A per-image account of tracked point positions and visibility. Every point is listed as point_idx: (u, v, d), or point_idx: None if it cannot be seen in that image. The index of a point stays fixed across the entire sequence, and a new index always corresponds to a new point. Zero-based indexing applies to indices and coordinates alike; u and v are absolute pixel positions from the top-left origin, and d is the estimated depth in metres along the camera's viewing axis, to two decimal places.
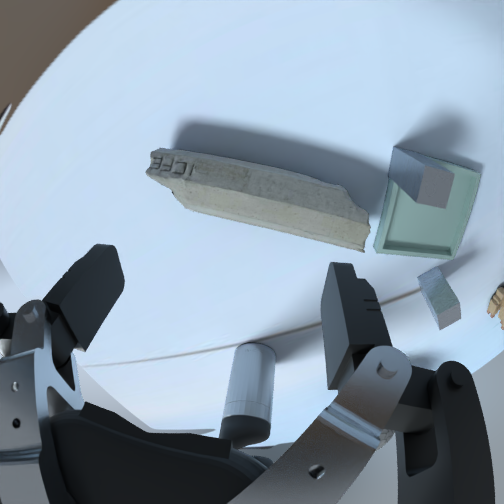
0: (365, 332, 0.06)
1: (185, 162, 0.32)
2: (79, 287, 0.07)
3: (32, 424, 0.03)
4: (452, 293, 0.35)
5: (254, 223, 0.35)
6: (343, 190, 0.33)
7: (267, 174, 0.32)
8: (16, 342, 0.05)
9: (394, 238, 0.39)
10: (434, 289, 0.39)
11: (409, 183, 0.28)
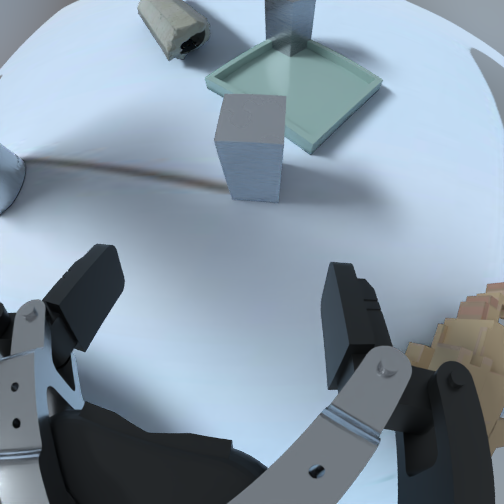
0: (365, 332, 0.06)
1: None
2: (79, 287, 0.07)
3: (32, 424, 0.03)
4: None
5: (147, 14, 0.28)
6: (207, 22, 0.28)
7: (184, 3, 0.29)
8: (16, 342, 0.05)
9: (236, 85, 0.29)
10: None
11: None
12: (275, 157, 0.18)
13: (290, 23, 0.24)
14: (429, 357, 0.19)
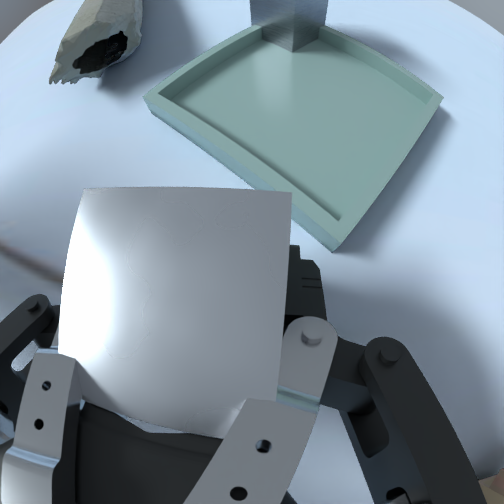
0: (295, 304, 0.07)
1: None
2: None
3: (55, 431, 0.03)
4: None
5: None
6: (135, 18, 0.16)
7: None
8: None
9: (196, 106, 0.17)
10: None
11: None
12: None
13: None
14: None
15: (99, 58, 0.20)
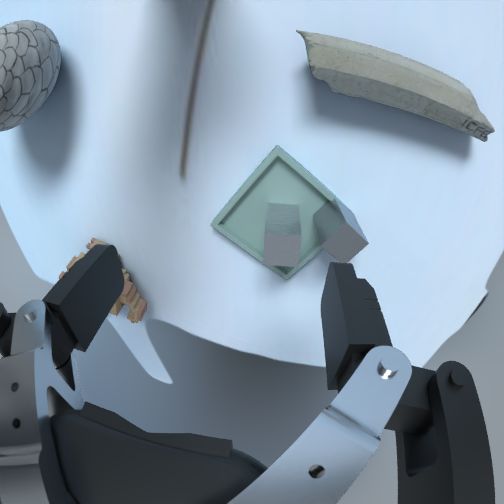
0: (365, 332, 0.06)
1: (466, 128, 0.26)
2: (79, 287, 0.07)
3: (32, 424, 0.03)
4: None
5: (418, 65, 0.23)
6: (338, 92, 0.28)
7: (409, 108, 0.27)
8: (16, 342, 0.05)
9: (274, 170, 0.39)
10: None
11: (348, 219, 0.34)
12: None
13: (319, 231, 0.37)
14: None
15: None
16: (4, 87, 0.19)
